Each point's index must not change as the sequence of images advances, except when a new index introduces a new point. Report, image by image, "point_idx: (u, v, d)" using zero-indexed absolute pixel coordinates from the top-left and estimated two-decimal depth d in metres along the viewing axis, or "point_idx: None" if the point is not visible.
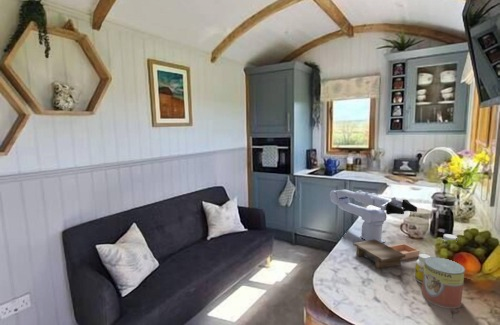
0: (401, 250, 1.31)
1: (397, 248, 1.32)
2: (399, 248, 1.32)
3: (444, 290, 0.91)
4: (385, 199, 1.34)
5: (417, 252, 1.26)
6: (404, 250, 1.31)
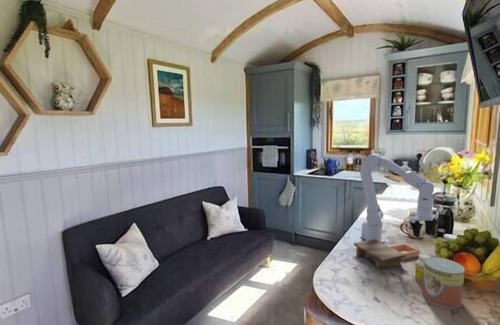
0: (401, 250, 1.31)
1: (397, 248, 1.32)
2: (399, 248, 1.32)
3: (444, 290, 0.91)
4: (427, 212, 1.27)
5: (417, 252, 1.26)
6: (404, 250, 1.31)
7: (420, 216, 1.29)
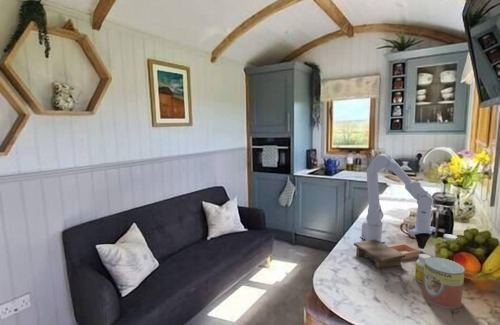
0: (401, 250, 1.31)
1: (397, 248, 1.32)
2: (399, 248, 1.32)
3: (444, 290, 0.91)
4: (425, 225, 1.28)
5: (417, 252, 1.26)
6: (404, 250, 1.31)
7: (419, 229, 1.29)
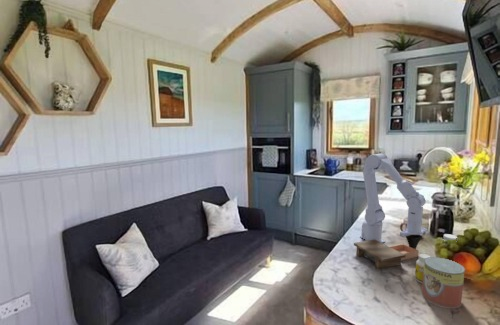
0: (400, 250, 1.31)
1: (396, 248, 1.31)
2: (398, 248, 1.32)
3: (444, 290, 0.91)
4: (416, 226, 1.26)
5: (416, 252, 1.26)
6: (403, 250, 1.31)
7: (410, 230, 1.28)
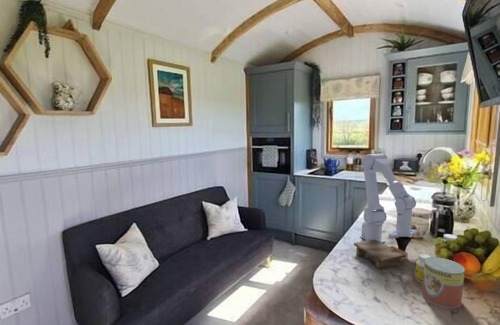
0: None
1: None
2: None
3: (444, 290, 0.91)
4: (405, 228, 1.24)
5: (405, 254, 1.24)
6: None
7: (399, 232, 1.25)
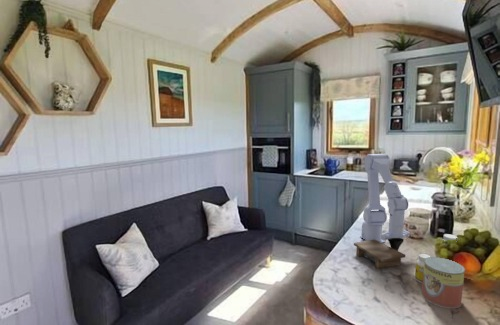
0: None
1: None
2: None
3: (444, 290, 0.91)
4: (398, 229, 1.22)
5: None
6: None
7: (391, 233, 1.24)
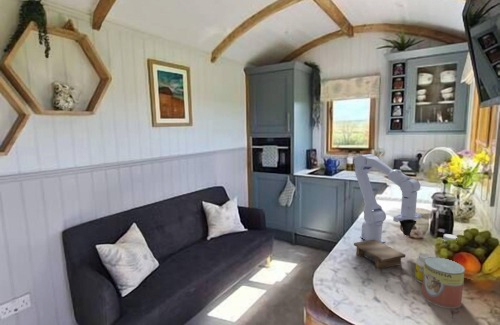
0: None
1: None
2: None
3: (444, 290, 0.91)
4: (410, 211, 1.25)
5: None
6: None
7: (404, 215, 1.26)
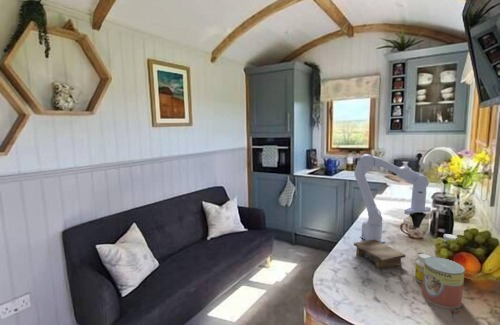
0: None
1: None
2: None
3: (444, 290, 0.91)
4: (420, 204, 1.32)
5: None
6: None
7: (414, 208, 1.34)
